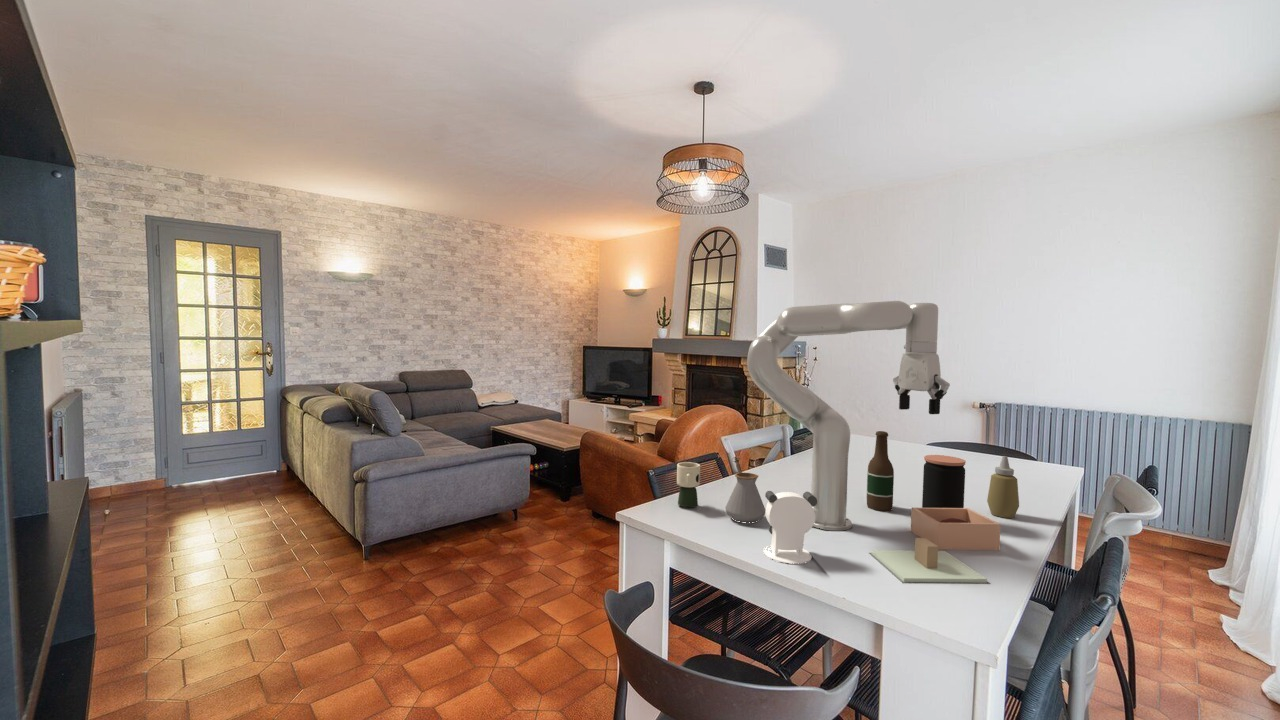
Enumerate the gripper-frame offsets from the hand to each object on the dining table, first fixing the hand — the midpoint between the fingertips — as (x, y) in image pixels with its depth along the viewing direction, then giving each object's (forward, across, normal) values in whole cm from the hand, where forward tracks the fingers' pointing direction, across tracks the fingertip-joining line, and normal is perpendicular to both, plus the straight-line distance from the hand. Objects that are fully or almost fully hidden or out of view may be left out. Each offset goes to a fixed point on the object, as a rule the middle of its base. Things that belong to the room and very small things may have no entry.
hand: (918, 411), depth 144 cm
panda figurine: (+33, +3, -43) cm, 54 cm away
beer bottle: (+33, -20, +7) cm, 39 cm away
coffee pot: (+33, -27, -38) cm, 57 cm away
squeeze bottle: (+33, -3, +38) cm, 51 cm away
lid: (+32, +20, -18) cm, 42 cm away
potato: (+33, +9, +4) cm, 35 cm away
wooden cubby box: (+33, +9, +4) cm, 34 cm away
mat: (+33, +20, -18) cm, 42 cm away
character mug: (+33, -38, -50) cm, 72 cm away
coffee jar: (+33, -6, +17) cm, 38 cm away
